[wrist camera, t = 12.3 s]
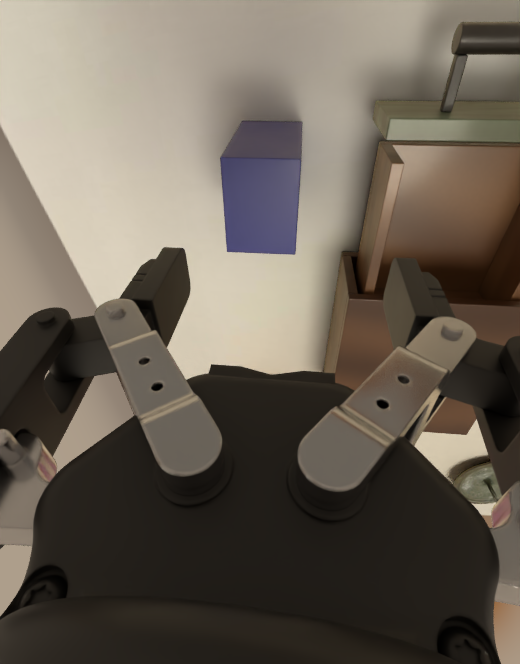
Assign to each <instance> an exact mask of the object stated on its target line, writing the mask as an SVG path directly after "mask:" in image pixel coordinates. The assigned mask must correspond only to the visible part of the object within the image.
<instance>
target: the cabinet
mask: <svg viewBox="0 0 520 664" xmlns="http://www.w3.org/2000/svg"><path fill="white" fill-rule="evenodd" d="M357 257H358V252H342V253H341V260H340V266H339V273H338V279H337V286H336V292H335V299H334V305H333V312H332V318H331V325H330V331H329V338H328V344H327V351H326V357H325V364H324V370H323V372H325V373H335V383H339V384H342V385H344V386H347V387H349V388H351V389H353V390H356V389H357V388H358V387H359V386H360V385H361V384H362V383H363V382H364V381H365V380H366V379H367V378H368V377H369V376H370V375H371V374H372V373H373V372H374V370H375V369H376V368H377V367H378V366H379V365H380V364H381V363H382V362H383V361H384V360H385V359H386V358H387V357H388V356H389V355H390V354H391V353H392V352H393V351H394V350H393V345H392V341H391V337H390V333H389V329H388V325H387V320H386V316H385V312H384V307H383V298H384V295H374V294H358V291H357V286H356V280H355V275H354V273H355V268H356V263H357ZM447 300H448V302H449V304H450V307H451V309H452V311H453V313H454V315H455V317H456V318H457V319H459V320H462V321H464V322H466V323H467V324H469V325H470V326H471V327H472V328H473V329H474V330H475V332H476V338H478V339H481V340H484V341H487V342H491V343H495V344H499V345H503V346H505V344H506V343H507V341H508V340H509V339H510V338H512V337H514V336H520V301H500V300H479V299H458V298H447ZM476 419H477V418H476V415H475V412H474V409H473V406H472V405H469V404H466V403H463V402H460V401H457V400H453V399H450V398H447V397H446V399H445V401H444V402H443V403H442V405H441V406H440V408H439V409H438V411H437V412H436V413H435V415H434V416H433V418H432V419H431V420H430V422H429V423H428V425H427V426H426V427H425V429H424V430H423V432H434V433H448V434H461V435H467V433H468V431H469V430H470V428H471V427H472V425H473V423H474V422H475V420H476Z"/></svg>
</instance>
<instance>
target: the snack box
mask: <svg viewBox="0 0 520 664" xmlns="http://www.w3.org/2000/svg"><path fill="white" fill-rule="evenodd" d="M301 153H302V122H280V121H242V122H241V124H240V126H239V127H238V129H237V131H236V132H235V134H234V136H233V137H232V139H231V141H230V142H229V144H228V146H227V147H226V149H225V151H224V152H223V154H222V156H221V158H220V160H221V174H222V188H223V202H224V216H225V230H226V244H227V252H245V253H269V254H295V251H296V235H297V220H298V204H299V188H300V172H301Z"/></svg>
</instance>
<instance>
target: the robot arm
mask: <svg viewBox="0 0 520 664" xmlns="http://www.w3.org/2000/svg"><path fill="white" fill-rule="evenodd" d="M189 295H190V278H189V272H188V266H187V260H186V254H185V250H184V249H183V248H169V247H164V248H163V249H162V251H161V252H160V254H159V255H158V257H157V259H150V260H149V261H148V262H146V263H145V264H143V265H142V266H141V267H140V268H139V270H138V271H137V273H136V275H135V276H134V277H133V279H132V281H131V282H130V283H129V285H128V286H127V288H126V289H125V291H124V292H123V294H122V295H121V297H120V298H119V299H114V300H110V301H108V302H106V303H104V304H102V305H101V306H99V307H98V308H97V309H96V311H95V315H94V316H89V317H82V318H76V319H71V317H70V315H69V312H68V311H67V310H65V309H63V308H48V309H44V310H41V311H38V312H37V313H34V314H33V315H31V316H30V317H29V318H28V319H27V320H26V321H25V322H24V323H23V325H22V326H21V327H20V328H19V329H18V331H17V332H16V333H15V334H14V335H13V337H12V338H11V339H10V340H9V341H8V343H7V344H6V345H5V346H4V347H3V349H2V350H1V351H0V549H1V548H2V547H3V546H4V545H23V546H32V552H31V557H30V562H29V566H28V569H27V573H26V576H25V579H24V581H23V584H22V586H21V588H20V590H19V591H18V593H17V595H16V597H15V598H14V599H13V601H12V602H11V604H10V605H9V606H8V608H7V609H6V610H5V612H4V613H3V614H2V615H1V616H0V664H501V662H500V660H499V657H498V653H497V649H496V644H495V638H494V624H493V610H494V601H496V602H502V603H508V604H513V605H518V606H520V336H514V337H512V338H510V339H509V340H508V341H507V343H506V344H505V346H503V345H499V344H495V343H491V342H487V341H484V340H481V339H478V338H476V332H475V330H474V329H473V328H472V327H471V326H470V325H469V324H467V323H466V322H464V321H462V320H459V319H457V318H456V317H455V315H454V313H453V311H452V309H451V307H450V304H449V302H448V300H447V298H445V294H444V292H443V291H442V287H441V285H440V283H439V281H438V280H437V279H436V278H435V277H434V276H433V275H431V274H430V273H429V272H421V269H420V267H419V265H418V262H417V260H416V259H415V258H394V259H393V261H392V264H391V268H390V272H389V276H388V280H387V284H386V288H385V292H384V298H383V307H384V312H385V316H386V320H387V325H388V329H389V333H390V337H391V341H392V345H393V350H394V351H393V352H392V353H391V354H390V355H389V356H388V357H387V358H386V359H385V360H384V361H383V362H382V363H381V364H380V365H379V366H378V367H377V368H376V369H375V370H374V372H373V373H372V374H371V375H370V376H369V377H368V378H367V379H366V380H365V381H364V382H363V383H362V384H361V385H360V386H359V387H358V388H357V389H356V390H353V389H351V388H349V387H347V386H344V385H342V384H339V383H335V373H325V372H311V371H300V372H292V373H284V374H276V375H270V374H266V373H262V372H259V371H255V370H252V369H248V368H244V367H240V366H226V365H212V364H211V367H210V371H209V373H208V374H203V375H198V376H195V377H192V378H190V379H187V380H186V379H185V378H184V376H183V374H182V373H181V371H180V369H179V368H178V366H177V364H176V363H175V361H174V359H173V358H172V356H171V354H170V353H169V351H168V349H167V346H168V344H169V342H170V339H171V337H172V335H173V333H174V330H175V328H176V326H177V323H178V321H179V319H180V316H181V314H182V312H183V309H184V307H185V305H186V303H187V300H188V298H189ZM48 370H49V371H50V372H49V373H48V375H47V376H46V378H45V375H46V373H47V371H48ZM114 372H116V373H117V375H118V377H119V380H120V382H121V384H122V387H123V389H124V392H125V394H126V397H127V399H128V401H129V404H130V406H131V409H132V411H133V414H134V416H133V417H132V418H131V419H129V420H128V421H126V422H125V423H124V424H122V425H121V426H120V427H118V428H117V429H115V430H114V431H113V432H111V433H110V434H108V435H107V436H105V437H104V438H103V439H102V440H100V441H99V442H97V443H96V444H94V445H93V446H92V447H90V448H89V449H87V450H86V451H85V452H83V453H82V454H80V455H79V456H78V457H76V458H75V459H73V460H72V461H71V462H69V463H68V464H67V465H66V466H64V467H63V468H62V469H61V470H60V471H59V472H58V473H57V474H56V472H57V464H56V461H55V459H54V458H53V455H54V453H55V451H56V449H57V447H58V445H59V443H60V441H61V439H62V438H63V436H64V434H65V432H66V430H67V428H68V426H69V424H70V422H71V420H72V418H73V416H74V414H75V413H76V411H77V409H78V407H79V405H80V403H81V401H82V399H83V397H84V395H85V393H86V391H87V389H88V387H89V385H90V383H91V381H92V379H93V378H94V376H97V375H103V374H108V373H114ZM44 378H45V380H44ZM446 397H447V398H450V399H453V400H457V401H460V402H463V403H466V404H469V405H472V406H473V409H474V412H475V415H476V418H477V421H478V424H479V427H480V430H481V433H482V436H483V439H484V443H485V446H486V449H487V452H488V455H489V458H490V461H491V464H492V467H493V470H494V473H495V476H496V479H497V482H498V485H499V488H500V491H501V494H502V497H501V498H500V499H499V501H498V502H497V503H496V504H495V505H494V507H493V508H492V512H491V518H492V524H493V527H492V528H489V527H488V525H487V523H486V522H485V520H484V518H483V517H482V516H481V514H480V513H479V512H478V510H477V509H476V508H475V507H474V506H473V505H472V504H471V503H470V501H469V500H468V499H467V498H466V497H465V496H464V495H463V494H462V493H461V492H460V491H459V490H458V489H457V488H456V487H455V486H454V485H453V484H452V483H451V482H450V481H449V480H447V479H446V478H445V477H444V476H443V475H442V474H441V473H440V472H439V471H438V470H437V469H436V468H435V467H434V466H433V465H432V464H431V463H430V462H429V461H428V460H427V459H426V458H425V457H424V456H423V455H422V454H421V453H420V452H419V451H418V450H417V449H416V448H415V447H414V445H415V443H416V442H417V440H418V438H419V437H420V435H421V433H422V432H423V430H424V429H425V427H426V426H427V425H428V423H429V422H430V420H431V419H432V418H433V416H434V415H435V413H436V412H437V411H438V409H439V408H440V406H441V405H442V403H443V402H444V401H445V399H446Z"/></svg>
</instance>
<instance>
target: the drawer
mask: <svg viewBox="0 0 520 664" xmlns="http://www.w3.org/2000/svg"><path fill="white" fill-rule="evenodd" d="M452 54H454V59H453V62H452V66H451V70H450V73H449V77H448V81H447V84H446V88H445V92H444V96H443V99H442V101H376V102H375V108H374V114H373V121H374V122H375V124H376V126H377V127H378V129H379V130H380V132H381V133H382V135H383V137H384V138H385V140H386V141H380V142H379V145H378V151H377V156H376V161H375V167H374V172H373V177H372V183H371V188H370V193H369V199H368V204H367V209H366V215H365V220H364V225H363V231H362V236H361V241H360V247H359V252H358V257H357V263H356V268H355V273H354V275H355V280H356V286H357V291H358V294H374V295H384V292H385V288H386V284H387V280H388V276H389V272H390V268H391V264H392V261H393V259H394V258H415V259H416V260H417V262H418V265H419V267H420V269H421V272H429V273H430V274H431V275H433V276H434V277H435V278H436V279H437V280H438V281H439V283H440V285H441V287H442V291H443V292H444V294H445V298H458V299H479V300H500V301H520V144H515V143H520V102H489V101H455V99H456V95H457V92H458V88H459V85H460V82H461V78H462V75H463V71H464V68H465V64H466V61H467V57H468V55H500V54H520V22H462V23H460V24H459V25H458V27H457V29H456V31H455V34H454V37H453V41H452ZM396 141H444V142H396ZM455 142H504V143H455Z"/></svg>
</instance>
